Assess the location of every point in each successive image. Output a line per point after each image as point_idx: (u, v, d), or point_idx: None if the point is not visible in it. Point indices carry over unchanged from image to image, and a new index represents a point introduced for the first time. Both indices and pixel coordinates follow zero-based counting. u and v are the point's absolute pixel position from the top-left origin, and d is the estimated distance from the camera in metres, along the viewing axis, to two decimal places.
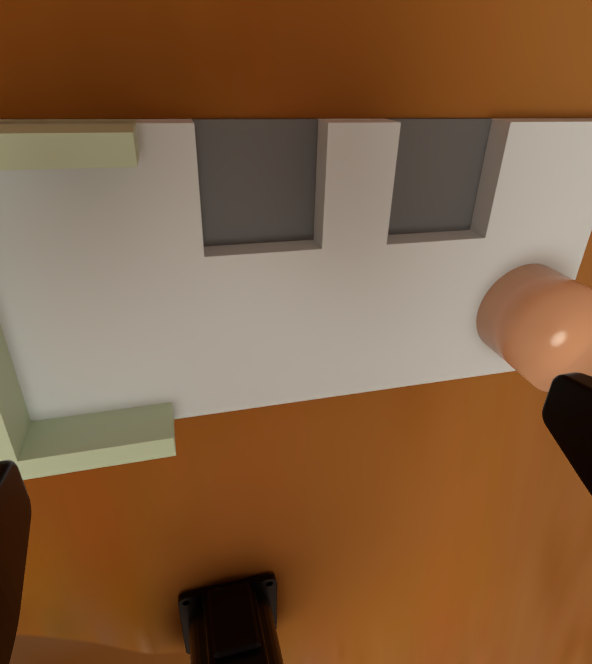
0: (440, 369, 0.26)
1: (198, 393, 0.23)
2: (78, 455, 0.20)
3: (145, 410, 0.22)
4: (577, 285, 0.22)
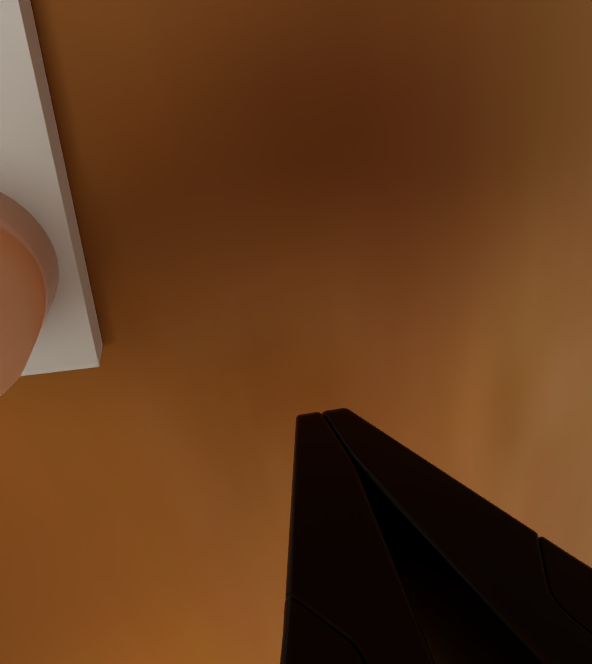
0: None
1: None
2: None
3: None
4: None
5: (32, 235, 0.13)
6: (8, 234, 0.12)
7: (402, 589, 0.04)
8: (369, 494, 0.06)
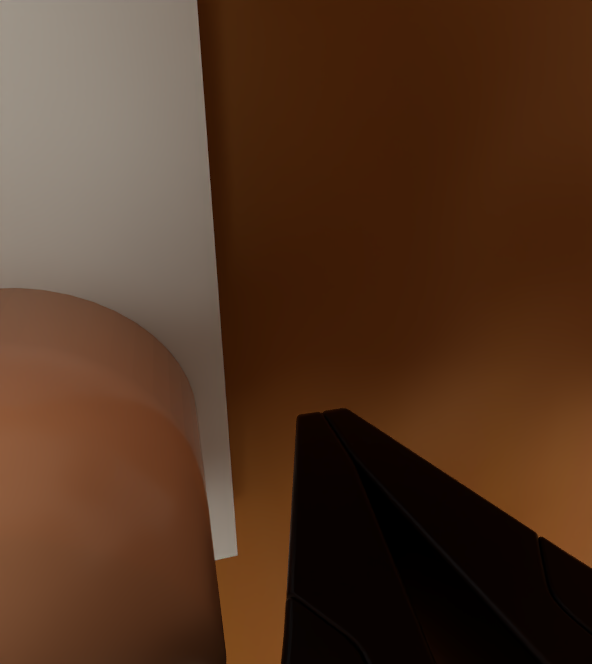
0: None
1: None
2: None
3: None
4: None
5: (177, 400, 0.07)
6: (157, 432, 0.06)
7: (403, 589, 0.04)
8: (369, 494, 0.06)
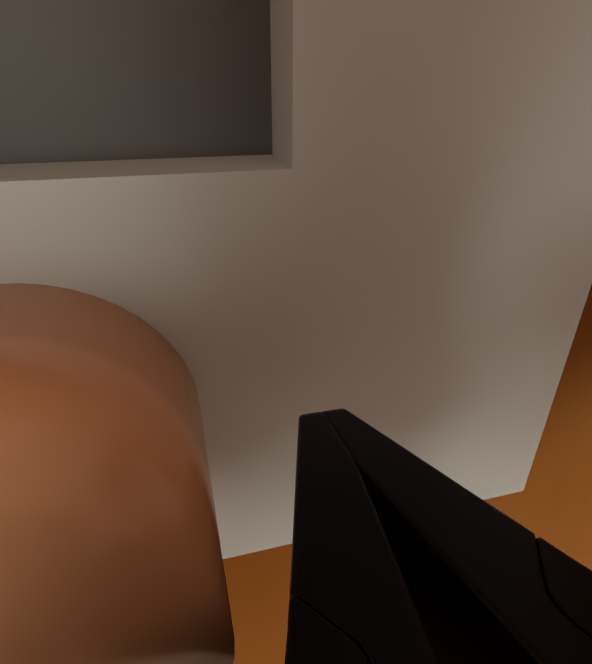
0: (245, 529, 0.10)
1: None
2: None
3: None
4: None
5: (181, 391, 0.07)
6: (162, 421, 0.06)
7: (406, 588, 0.04)
8: None
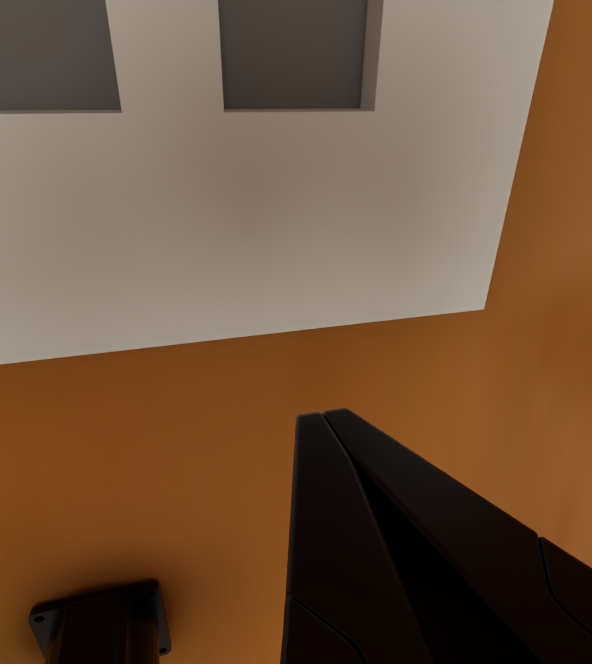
0: (334, 309, 0.19)
1: None
2: None
3: None
4: None
5: None
6: None
7: (402, 589, 0.04)
8: (369, 494, 0.06)
